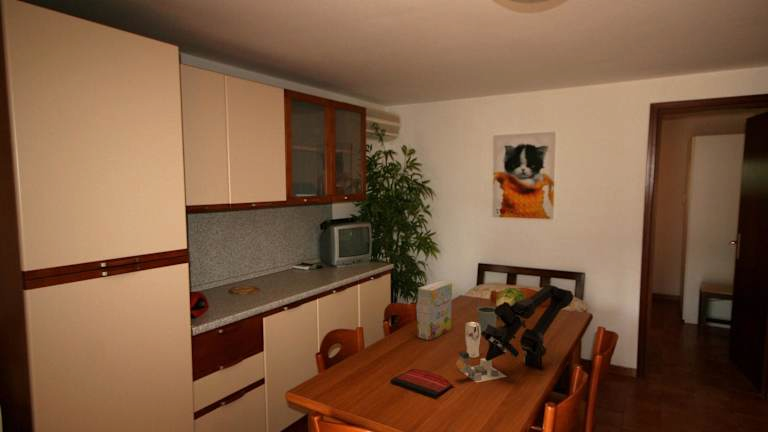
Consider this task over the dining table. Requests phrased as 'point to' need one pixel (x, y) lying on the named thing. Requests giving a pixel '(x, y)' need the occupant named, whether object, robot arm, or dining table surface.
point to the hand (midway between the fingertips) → (486, 360)
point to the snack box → (434, 310)
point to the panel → (486, 377)
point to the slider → (486, 364)
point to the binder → (422, 383)
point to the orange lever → (465, 367)
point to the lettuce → (510, 296)
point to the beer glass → (472, 338)
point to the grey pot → (486, 317)
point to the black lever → (464, 356)
